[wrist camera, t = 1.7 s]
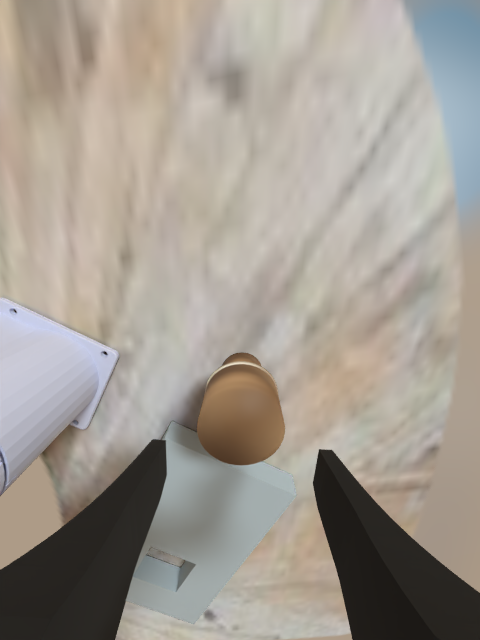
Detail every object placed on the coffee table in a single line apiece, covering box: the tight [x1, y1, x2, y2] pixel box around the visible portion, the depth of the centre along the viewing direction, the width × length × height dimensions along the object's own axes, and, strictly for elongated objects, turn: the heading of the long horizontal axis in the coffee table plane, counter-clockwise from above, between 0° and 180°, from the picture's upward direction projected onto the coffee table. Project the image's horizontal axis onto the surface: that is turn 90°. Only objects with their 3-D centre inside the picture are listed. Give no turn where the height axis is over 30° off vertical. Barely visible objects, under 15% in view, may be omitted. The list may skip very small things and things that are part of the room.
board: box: [126, 421, 297, 624], centre depth 25 cm, size 12×20×2 cm, turn 152°
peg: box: [197, 353, 285, 465], centre depth 17 cm, size 5×5×7 cm
